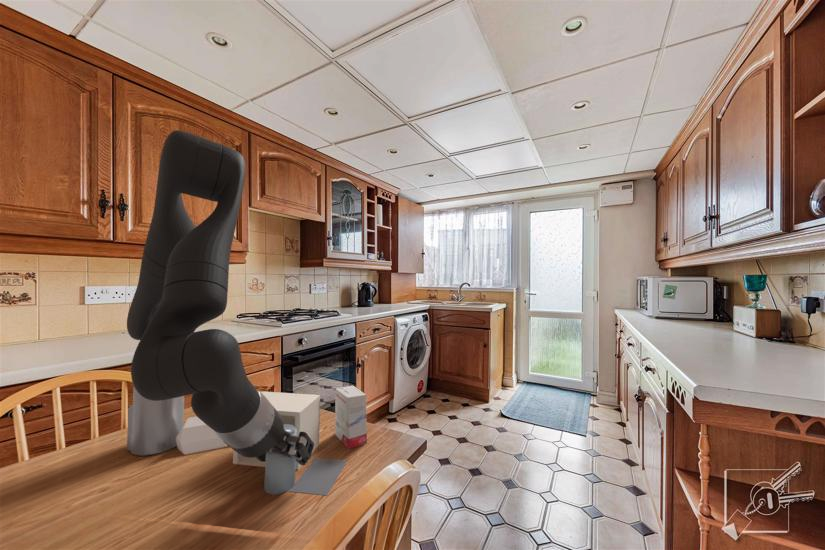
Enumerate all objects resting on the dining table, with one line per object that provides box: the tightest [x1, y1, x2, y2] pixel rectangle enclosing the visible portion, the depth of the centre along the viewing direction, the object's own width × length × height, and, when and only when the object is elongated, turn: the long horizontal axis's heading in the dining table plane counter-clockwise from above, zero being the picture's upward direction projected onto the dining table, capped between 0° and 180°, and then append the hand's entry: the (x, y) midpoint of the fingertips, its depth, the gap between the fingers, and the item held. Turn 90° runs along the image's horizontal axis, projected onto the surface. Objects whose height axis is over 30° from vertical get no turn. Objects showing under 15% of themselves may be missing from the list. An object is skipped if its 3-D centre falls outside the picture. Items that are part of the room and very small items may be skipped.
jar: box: [263, 424, 297, 495], centre depth 59 cm, size 5×5×11 cm
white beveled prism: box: [175, 416, 229, 456], centre depth 76 cm, size 7×7×24 cm
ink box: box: [334, 385, 368, 449], centre depth 77 cm, size 9×5×12 cm, turn 33°
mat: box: [288, 457, 348, 497], centre depth 62 cm, size 7×11×1 cm, turn 173°
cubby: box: [232, 391, 321, 471], centre depth 69 cm, size 14×10×12 cm
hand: (285, 457), depth 60 cm, fingers open, 7 cm apart
